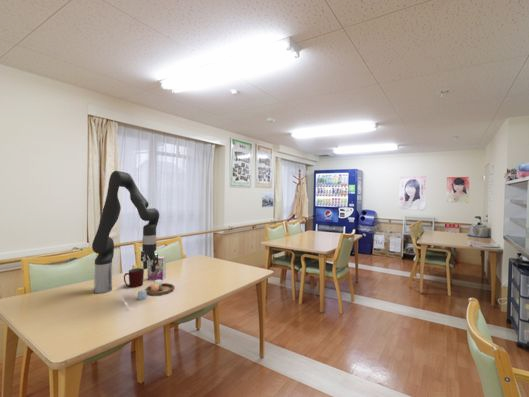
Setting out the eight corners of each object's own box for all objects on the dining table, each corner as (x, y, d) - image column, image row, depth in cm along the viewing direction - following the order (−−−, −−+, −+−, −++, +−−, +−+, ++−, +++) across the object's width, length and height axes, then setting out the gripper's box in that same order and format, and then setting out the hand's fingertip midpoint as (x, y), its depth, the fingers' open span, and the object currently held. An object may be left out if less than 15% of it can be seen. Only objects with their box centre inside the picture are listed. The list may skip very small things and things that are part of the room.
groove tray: (149, 299, 152) (149, 295, 151) (142, 291, 164) (142, 286, 164) (178, 293, 162) (178, 288, 162) (168, 285, 175) (168, 281, 174)
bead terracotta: (155, 294, 156) (155, 286, 156) (149, 293, 158) (149, 285, 158) (160, 292, 160) (160, 283, 160) (154, 291, 162) (154, 282, 162)
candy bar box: (147, 281, 183) (147, 257, 183) (150, 278, 188) (151, 255, 188) (162, 282, 182) (162, 258, 181) (166, 279, 187) (166, 256, 186)
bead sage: (155, 290, 163) (155, 282, 163) (153, 288, 167) (153, 280, 166) (162, 288, 166) (162, 280, 166) (160, 286, 169) (160, 278, 169)
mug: (127, 292, 163) (127, 274, 162) (120, 288, 168) (121, 271, 168) (146, 286, 172) (146, 270, 172) (139, 283, 178) (139, 267, 177)
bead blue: (139, 302, 148) (139, 293, 148) (137, 300, 151) (137, 291, 151) (147, 300, 150) (147, 292, 150) (145, 298, 154) (145, 289, 154)
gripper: (136, 242, 156) (136, 269, 156) (150, 245, 147) (150, 274, 148) (148, 240, 162) (148, 266, 162) (162, 243, 154) (162, 271, 154)
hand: (149, 270), depth 155 cm, fingers open, 8 cm apart
